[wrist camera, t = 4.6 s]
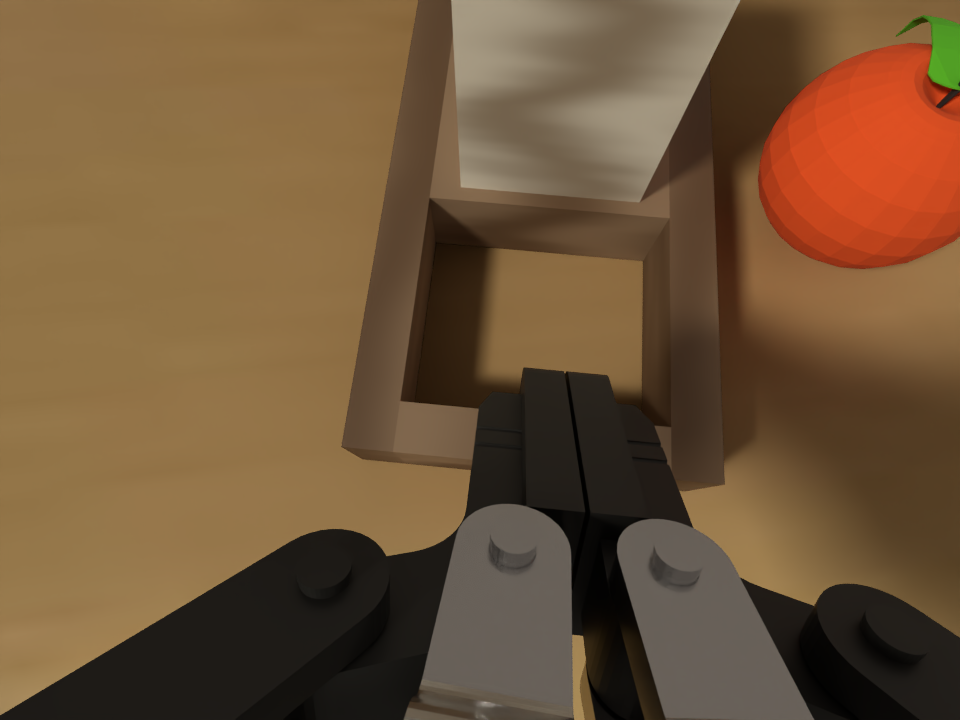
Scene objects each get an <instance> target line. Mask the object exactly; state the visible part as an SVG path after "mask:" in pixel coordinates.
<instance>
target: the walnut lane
mask: <svg viewBox="0 0 960 720" xmlns="http://www.w3.org/2000/svg"><path fill="white" fill-rule="evenodd" d="M436 243H446V244H458V245H469V246H480V247H492V248H503V249H514V250H526V251H537V252H548V253H560V254H571V255H582V256H593V257H605V258H616V259H627V260H639V261H643V332H642V413H643V414H644V415H645V416H646V417H648V418H649V419H650V420H651V421H652V422H653V423H654V426H655V429H656V431H657V434H658V437H659V439H660V442H661V447H663V450H664V452H665V455H666V458H667V460H668V461H667V465H669V466H670V468H671V471H672V473H673V476H674V479H675V481H676V484H677V487H678V489H679V490H680V491H689V490H695V489H701V488H707V487H713V486H719V485H725V480H724V452H723V424H722V396H721V368H720V340H719V312H718V285H717V257H716V229H715V201H714V173H713V145H712V117H711V89H710V62H709V64H708V66H707V68H706V70H705V72H704V74H703V76H702V78H701V80H700V82H699V84H698V86H697V88H696V90H695V92H694V94H693V96H692V98H691V100H690V102H689V104H688V106H687V108H686V110H685V112H684V114H683V116H682V118H681V120H680V122H679V124H678V126H677V128H676V130H675V132H674V134H673V136H672V138H671V140H670V142H669V144H668V146H667V148H666V150H665V152H664V154H663V156H662V158H661V160H660V162H659V164H658V166H657V168H656V170H655V172H654V174H653V176H652V178H651V180H650V182H649V184H648V186H647V188H646V190H645V192H644V194H643V196H642V198H641V200H640V202H627V201H615V200H604V199H592V198H580V197H569V196H557V195H545V194H534V193H522V192H510V191H499V190H487V189H475V188H464V187H461V181H460V161H459V142H458V122H457V103H456V83H455V63H454V44H453V24H452V5H451V0H418V6H417V11H416V17H415V23H414V29H413V35H412V40H411V46H410V52H409V58H408V64H407V69H406V75H405V81H404V87H403V93H402V98H401V104H400V110H399V116H398V122H397V127H396V133H395V139H394V145H393V151H392V156H391V162H390V168H389V174H388V180H387V185H386V191H385V197H384V203H383V209H382V214H381V220H380V226H379V232H378V238H377V243H376V249H375V255H374V261H373V267H372V272H371V278H370V284H369V290H368V296H367V301H366V307H365V313H364V319H363V325H362V330H361V336H360V342H359V348H358V354H357V359H356V365H355V371H354V377H353V383H352V388H351V394H350V400H349V406H348V412H347V417H346V423H345V429H344V435H343V441H342V446H341V447H343V448H344V449H346V450H348V451H350V452H351V453H353V454H355V455H356V456H358V457H360V458H362V459H366V460H376V461H387V462H397V463H407V464H417V465H427V466H437V467H447V468H457V469H467V470H471V467H472V459H473V451H474V443H475V434H476V427H477V418H478V410H479V409H476V408H466V407H455V406H445V405H435V404H424V403H414V402H415V395H416V387H417V380H418V373H419V365H420V358H421V351H422V343H423V336H424V328H425V321H426V314H427V306H428V299H429V292H430V284H431V277H432V270H433V262H434V255H435V248H436Z"/></svg>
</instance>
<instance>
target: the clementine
mask: <svg viewBox="0 0 960 720" xmlns="http://www.w3.org/2000/svg"><path fill="white" fill-rule="evenodd" d="M925 22H929V23H930V24H931V36H932V45H931V44H916V43H908V44H901V45H894V46H888V47H884V48H880V49H876V50H872V51H868V52H864V53H862V54H859V55H857V56H855V57H852V58H850V59H847V60H845V61H843V62H841V63H840V64H838V65H836V66H835V67H833V68H831V69H829V70H828V71H826V72H824V73H822V74H821V75H820V76H818V77H817V78H816V79H815V80H813V81H812V82H811V83H810V84H808V85H807V86H806V87H805V88H804V89H803V90H802V91H801V92H800V93H799V94H798V95H797V96H796V97H795V98H794V99H793V100H792V101H791V102H790V103H789V104H788V105H787V106H786V107H785V109H784V110H783V112H782V114H781V115H780V117H779V118H778V120H777V121H776V123H775V124H774V126H773V128H772V130H771V132H770V134H769V136H768V138H767V140H766V142H765V144H764V148H763V152H762V157H761V161H760V167H759V176H758V183H759V196H760V200H761V202H762V205H763V207H764V210H765V213H766V215H767V217H768V219H769V221H770V223H771V224H772V226H773V227H774V229H775V230H776V231H777V233H778V234H779V236H780V237H781V238H782V239H784V240H785V241H786V242H787V243H788V244H789V245H790V246H791V247H793V248H794V249H796V250H797V251H799V252H801V253H803V254H805V255H806V256H808V257H810V258H813V259H815V260H818V261H822V262H825V263H828V264H831V265H835V266H838V267H846V268H859V269H865V268H874V267H883V266H889V265H895V264H901V263H907V262H909V261H912V260H914V259H916V258H919V257H921V256H923V255H926V254H928V253H930V252H933V251H935V250H937V249H939V248H941V247H943V246H945V245H947V244H949V243H951V242H953V241H955V240H956V239H957V238H958V237H960V25H959V24H957V23H955V22H952V21H949V20H946V19H943V18H937V17H931V16H925V15H923V16H921V17H918V18H916V19H914V20H912V21H911V22H910V23H909V24H908V25H907V26H906V27H905V28H904V29H903V30H901V31H900V32H899V33H898V34H897V35H896V36H898V35H900V34H902V33H904V32H906V31H908V30H910V29H911V28H913V27H915V26H917V25H919V24H921V23H925Z"/></svg>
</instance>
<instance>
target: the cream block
mask: <svg viewBox="0 0 960 720" xmlns="http://www.w3.org/2000/svg"><path fill="white" fill-rule="evenodd" d="M739 2H740V0H451V5H452V24H453V44H454V63H455V83H456V103H457V122H458V142H459V161H460V181H461V187H464V188H475V189H487V190H499V191H510V192H522V193H534V194H545V195H557V196H569V197H580V198H592V199H604V200H615V201H627V202H640V200H641V198H642V196H643V194H644V192H645V190H646V188H647V186H648V184H649V182H650V180H651V178H652V176H653V174H654V172H655V170H656V168H657V166H658V164H659V162H660V160H661V158H662V156H663V154H664V152H665V150H666V148H667V146H668V144H669V142H670V140H671V138H672V136H673V134H674V132H675V130H676V128H677V126H678V124H679V122H680V120H681V118H682V116H683V114H684V112H685V110H686V108H687V106H688V104H689V102H690V100H691V98H692V96H693V94H694V92H695V90H696V88H697V86H698V84H699V82H700V80H701V78H702V76H703V74H704V72H705V70H706V68H707V66H708V64H709V62H710V60H711V58H712V56H713V54H714V52H715V50H716V48H717V46H718V44H719V42H720V40H721V38H722V36H723V34H724V32H725V30H726V28H727V26H728V24H729V22H730V20H731V18H732V16H733V14H734V12H735V10H736V8H737V6H738V4H739Z"/></svg>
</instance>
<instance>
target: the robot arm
mask: <svg viewBox="0 0 960 720" xmlns="http://www.w3.org/2000/svg"><path fill="white" fill-rule="evenodd" d="M667 461H668V460H667V458H666V455H665V452H664V450H663V447H661V442H660V439H659V437H658V434H657V431H656V429H655V426H654V423H653V422H652V421H651V420H650V419H649V418H648V417H646V416H645V415H644V414H643V413H642V412H641V411H640V410H639V409H638V408H637V407H636V406H635V405H627V404H617V403H616V401H615V398H614V394H613V391H612V387H611V384H610V380H609V377H608V376H607V375H599V374H588V373H578V372H566V373H564V371H556V370H545V369H535V368H523V372H522V379H521V387H520V394H512V393H501V392H492V393H491V394H490V395H489V396H488V397H487V398H486V399H485V400H484V402H483V403H482V404H481V405H480V406H479V410H478V418H477V427H476V434H475V443H474V451H473V459H472V467H471V476H470V484H469V492H468V500H467V508H466V513H465V516H464V519H463V521H462V523H461V524H460V526H459V527H458V528H457V530H456V531H455V532H454V533H453V534H452V535H451V536H449V537H448V538H446V539H445V540H444V541H442V542H440V543H438V544H436V545H434V546H432V547H429V548H426V549H423V550H419V551H415V552H409V553H403V554H398V555H392V556H386V555H385V553H384V552H383V550H382V549H381V547H380V546H379V545H378V544H377V543H376V542H374V541H373V540H372V539H370V538H369V537H367V536H365V535H363V534H361V533H357V532H354V531H350V530H343V529H328V530H320V531H316V532H312V533H309V534H306V535H303V536H301V537H299V538H297V539H295V540H293V541H291V542H289V543H287V544H286V545H284V546H282V547H281V548H279V549H277V550H276V551H274V552H272V553H271V554H269V555H267V556H266V557H264V558H262V559H261V560H259V561H257V562H256V563H254V564H252V565H251V566H249V567H247V568H246V569H244V570H242V571H241V572H239V573H237V574H236V575H234V576H232V577H231V578H229V579H227V580H226V581H224V582H222V583H221V584H219V585H217V586H216V587H214V588H212V589H211V590H209V591H207V592H206V593H204V594H202V595H201V596H199V597H197V598H196V599H194V600H192V601H191V602H189V603H187V604H186V605H184V606H182V607H181V608H179V609H177V610H176V611H174V612H172V613H171V614H169V615H167V616H166V617H164V618H162V619H161V620H159V621H157V622H156V623H154V624H152V625H150V626H149V627H147V628H145V629H144V630H142V631H140V632H139V633H137V634H135V635H134V636H132V637H130V638H129V639H127V640H125V641H124V642H122V643H120V644H119V645H117V646H115V647H114V648H112V649H110V650H109V651H107V652H105V653H104V654H102V655H100V656H99V657H97V658H95V659H94V660H92V661H90V662H89V663H87V664H85V665H84V666H82V667H80V668H79V669H77V670H75V671H74V672H72V673H70V674H69V675H67V676H65V677H64V678H62V679H60V680H59V681H57V682H55V683H54V684H52V685H50V686H49V687H47V688H45V689H44V690H42V691H40V692H39V693H37V694H35V695H34V696H32V697H30V698H29V699H27V700H25V701H24V702H22V703H20V704H19V705H17V706H15V707H14V708H12V709H10V710H9V711H7V712H5V713H4V714H2V715H0V720H574V715H573V677H572V635H581V636H583V637H584V646H585V655H586V661H585V665H584V669H583V672H582V676H581V681H580V693H581V700H582V706H583V712H584V718H585V720H960V638H959V637H958V636H956V635H955V634H953V633H952V632H950V631H949V630H947V629H946V628H944V627H943V626H941V625H940V624H938V623H937V622H935V621H934V620H932V619H931V618H929V617H928V616H926V615H925V614H923V613H922V612H920V611H919V610H917V609H916V608H914V607H912V606H911V605H909V604H908V603H906V602H904V601H902V600H900V599H898V598H896V597H894V596H893V595H890V594H888V593H885V592H883V591H880V590H878V589H874V588H871V587H868V586H863V585H857V584H839V585H835V586H832V587H829V588H828V589H826V590H825V591H823V593H822V594H821V595H820V597H819V598H818V600H817V602H816V604H815V606H812V605H810V604H807V603H804V602H801V601H798V600H796V599H793V598H790V597H787V596H784V595H782V594H779V593H776V592H773V591H770V590H768V589H765V588H762V587H760V586H757V585H755V584H752V583H750V582H748V581H746V580H744V579H742V578H740V577H739V575H738V573H737V571H736V569H735V567H734V565H733V564H732V562H731V560H730V559H729V557H728V556H727V555H726V553H725V552H724V551H723V550H722V549H721V548H720V547H719V546H718V545H717V544H716V543H715V542H714V541H713V540H711V539H710V538H709V537H707V536H706V535H704V534H703V533H701V532H699V531H698V530H696V529H694V528H693V526H692V523H691V521H690V518H689V515H688V513H687V510H686V508H685V505H684V502H683V500H682V497H681V494H680V492H679V489H678V487H677V484H676V481H675V479H674V476H673V473H672V471H671V468H670V466H669V465H667Z"/></svg>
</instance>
